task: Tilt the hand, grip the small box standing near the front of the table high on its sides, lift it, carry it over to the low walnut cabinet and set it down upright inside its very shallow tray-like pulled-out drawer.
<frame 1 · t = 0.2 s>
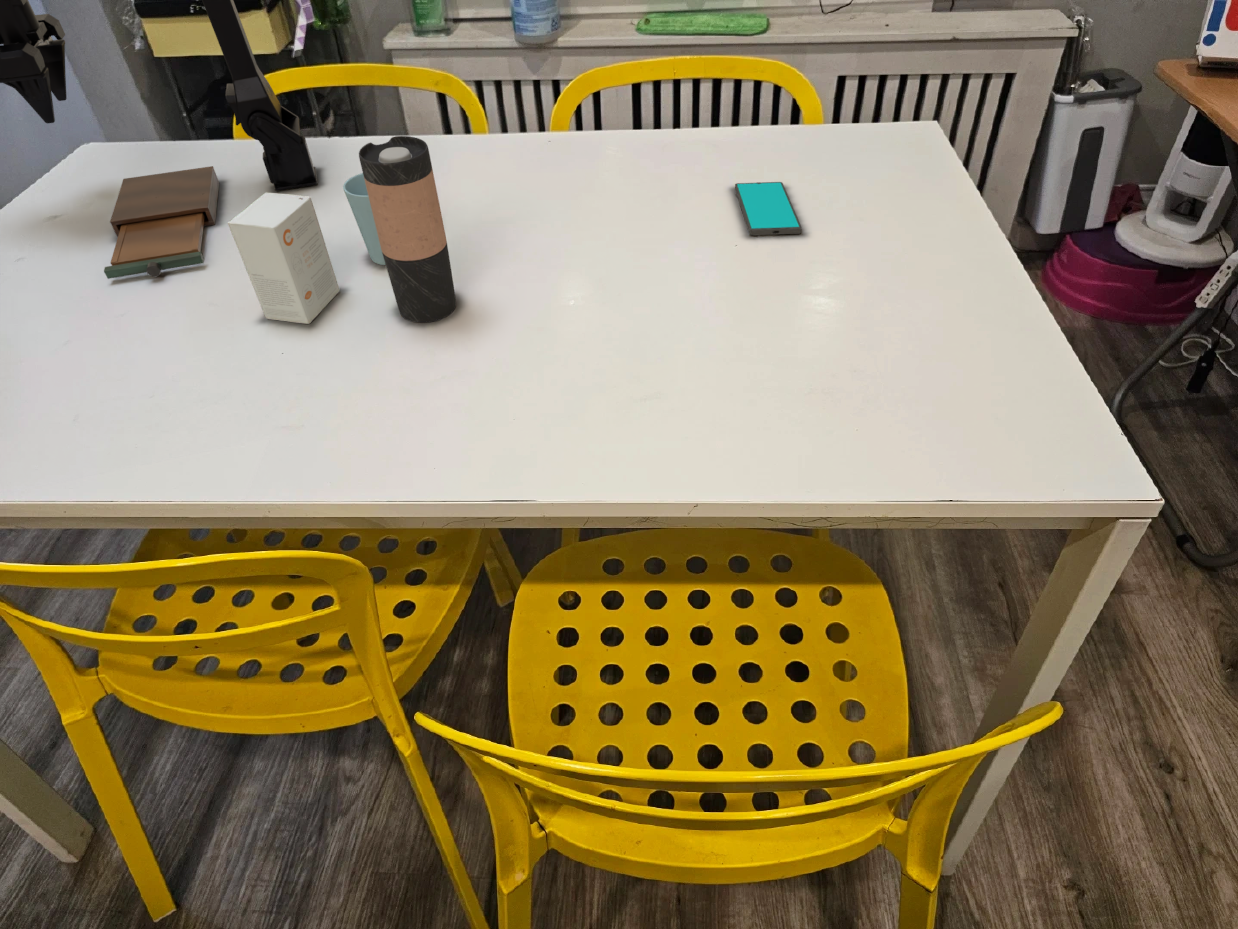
hand: (56, 111, 112), 15 cm above the table, tool pointing down, fingers open, 9 cm apart
travel mug: (428, 308, 100), on the table
cup: (391, 256, 110), on the table
drawer: (159, 244, 110), point 1 cm above the table, slide at 12.0 cm
small box: (304, 306, 101), on the table
cabinet: (171, 209, 121), on the table
smartphone: (766, 211, 116), on the table
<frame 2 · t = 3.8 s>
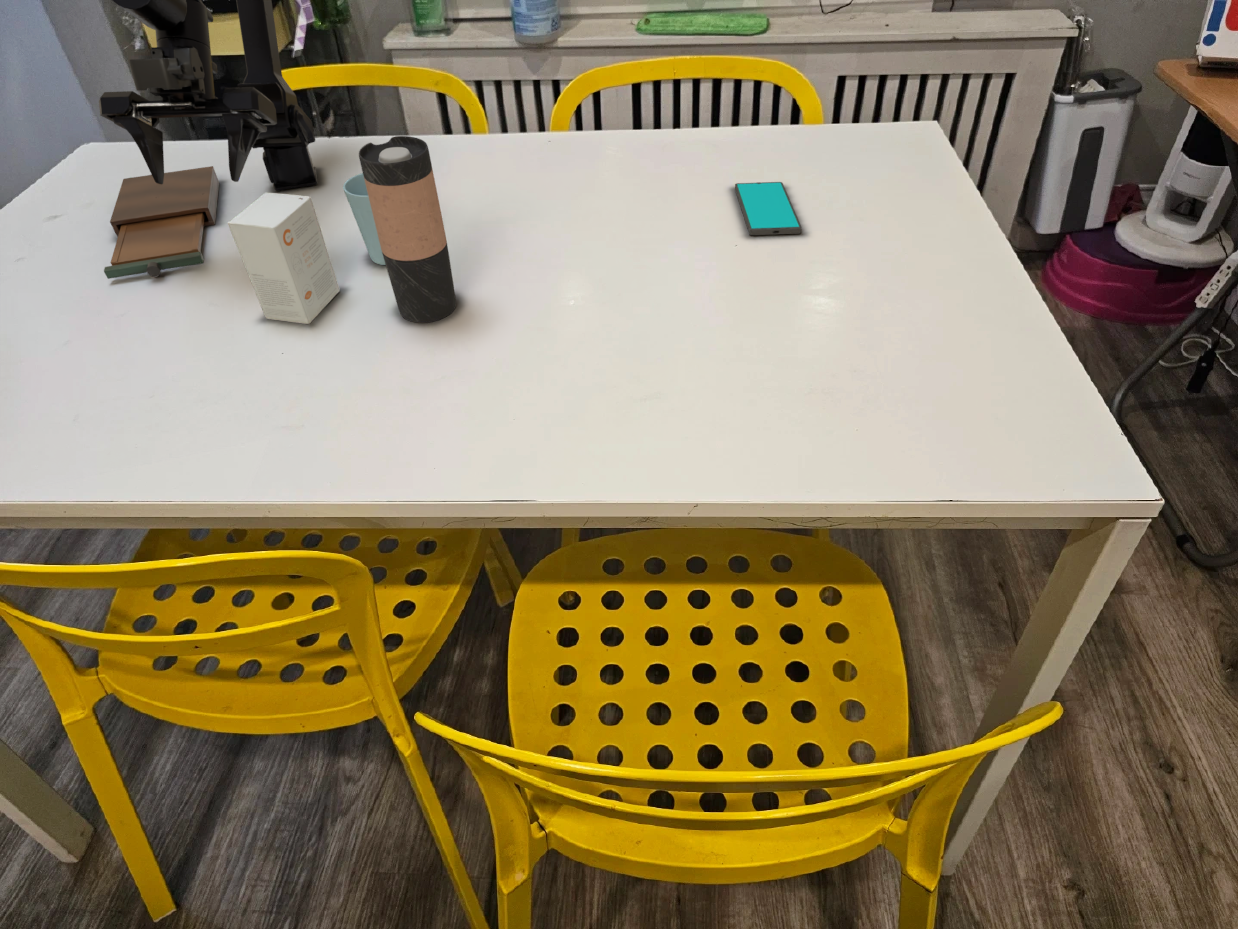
hand: (197, 182, 97), 13 cm above the table, tool tilted 35°, fingers open, 9 cm apart
nothing on the table moved.
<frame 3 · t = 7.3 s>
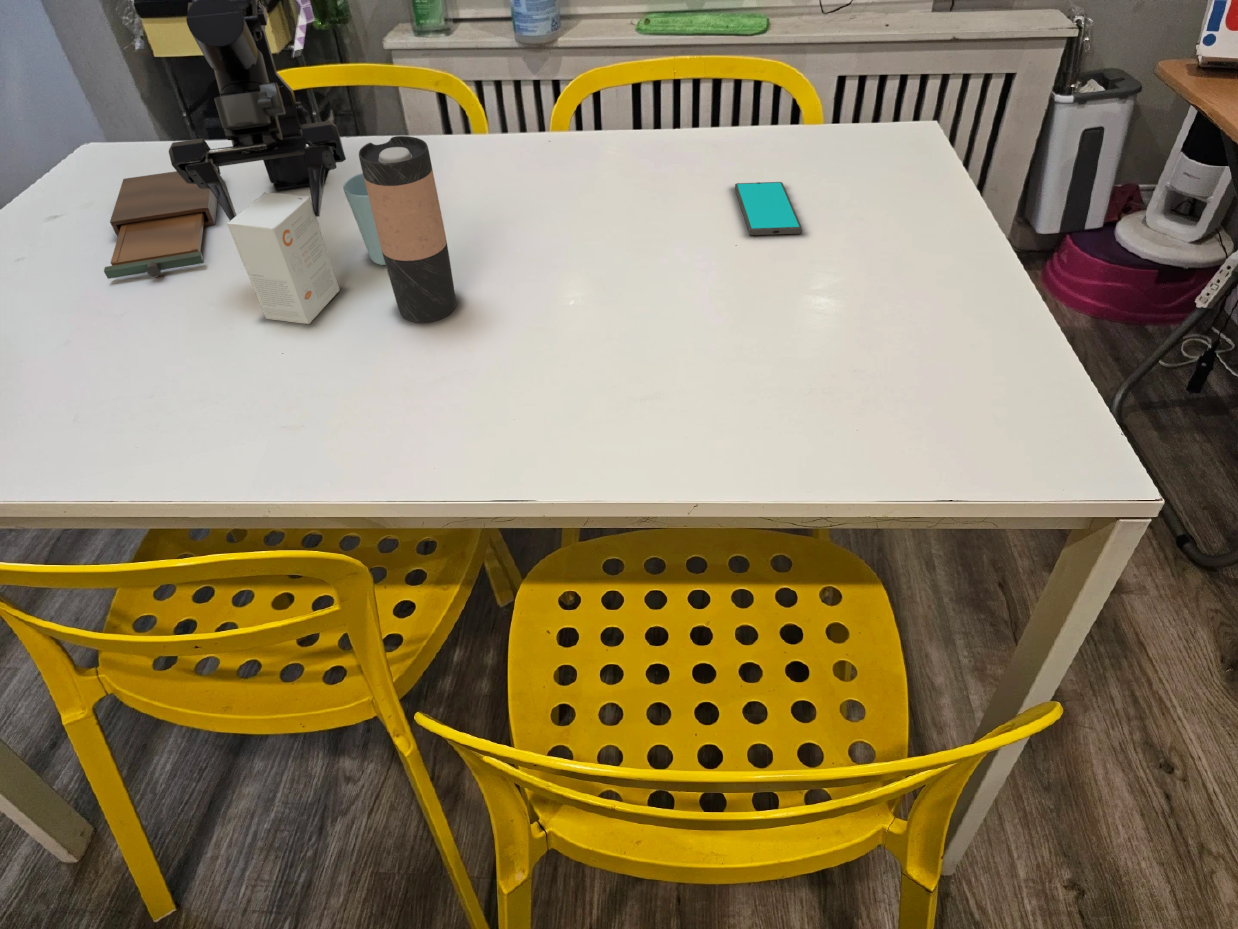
hand: (277, 221, 94), 11 cm above the table, tool tilted 45°, fingers open, 9 cm apart
small box: (303, 306, 101), on the table, touching gripper
everything else where it was.
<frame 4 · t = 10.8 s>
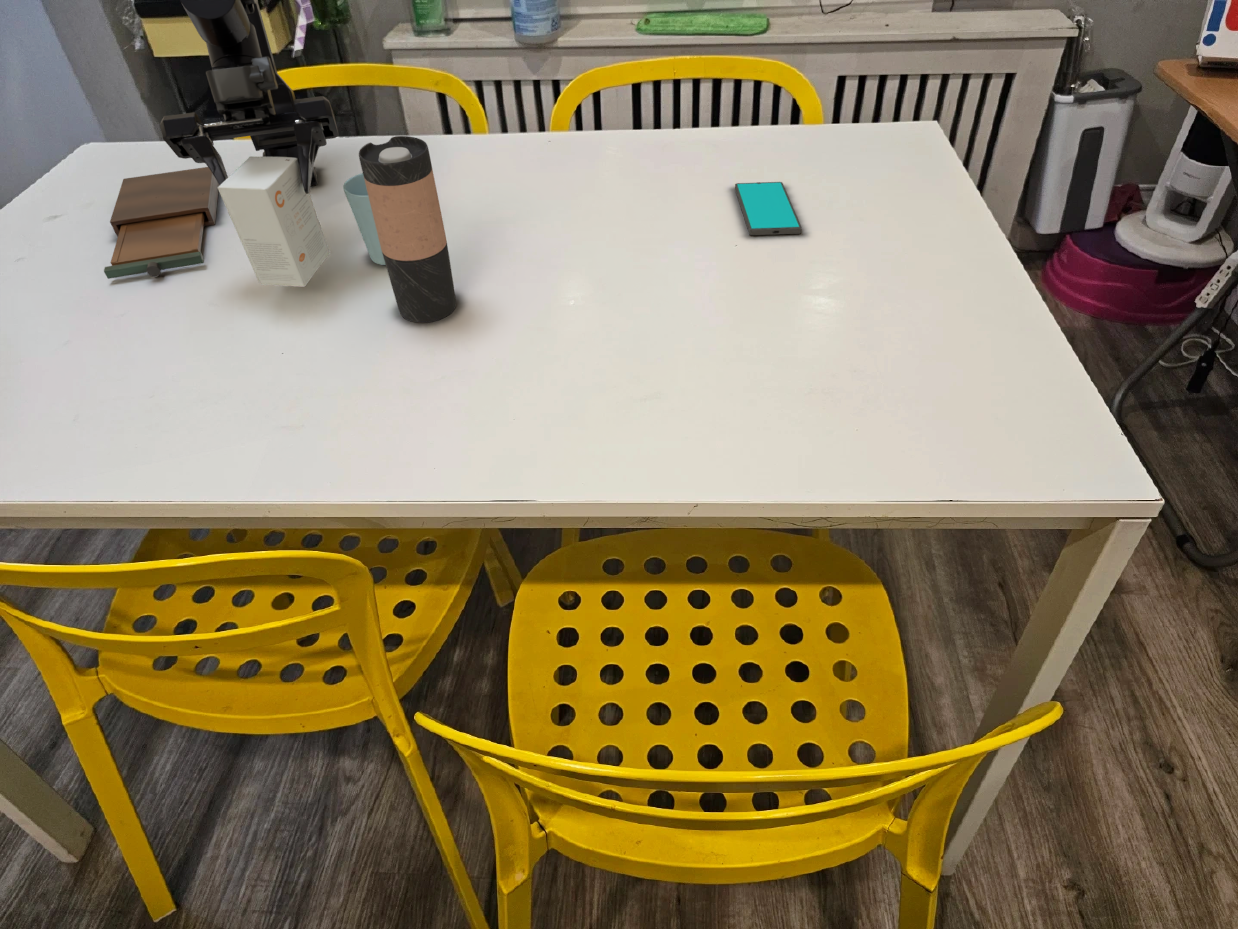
hand: (269, 197, 94), 13 cm above the table, tool tilted 45°, fingers closed on small box, 8 cm apart
small box: (296, 270, 101), point 3 cm above the table, touching gripper
everything else where it was.
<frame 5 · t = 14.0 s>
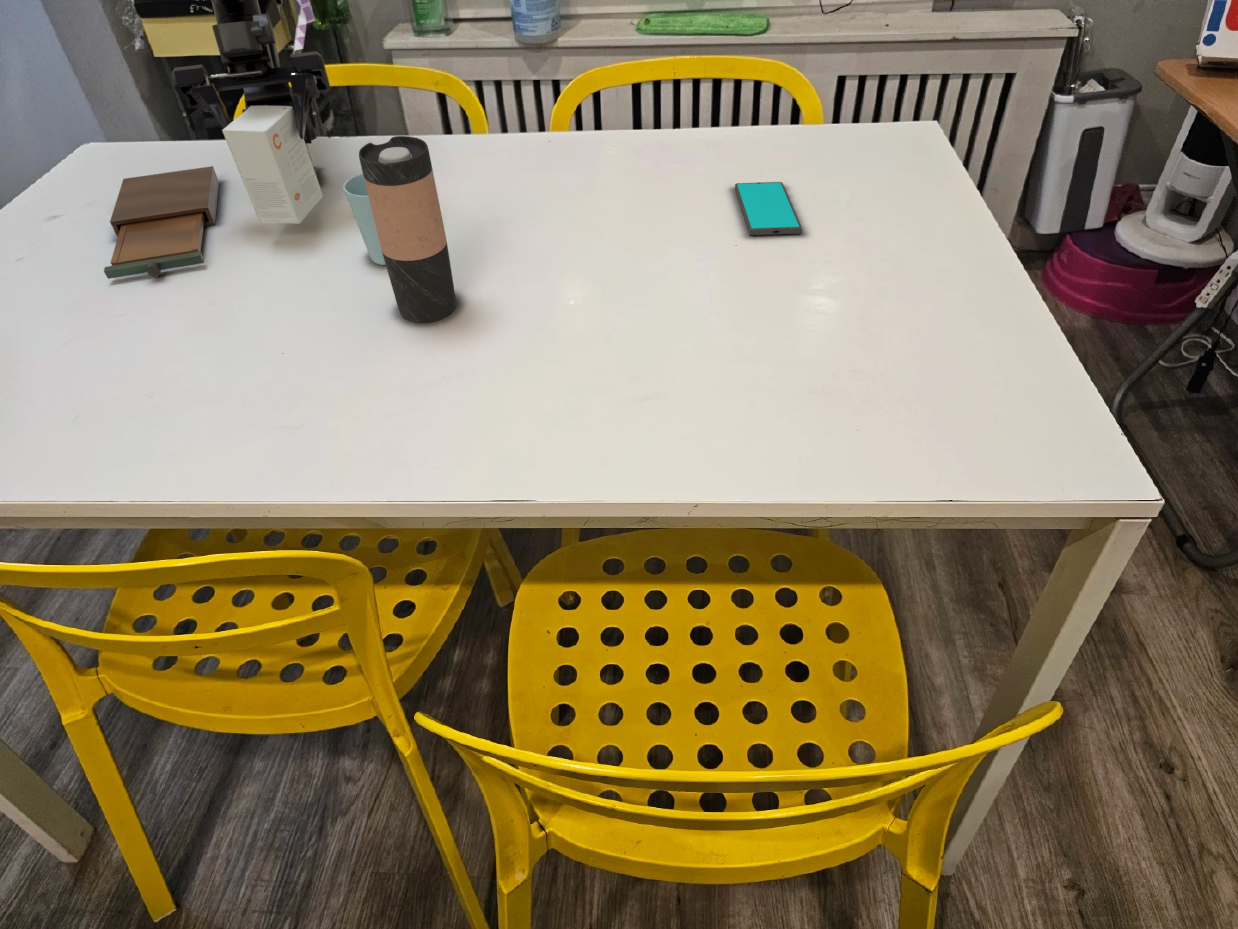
hand: (268, 142, 105), 13 cm above the table, tool tilted 45°, fingers closed on small box, 8 cm apart
small box: (292, 210, 113), point 3 cm above the table, touching gripper
everything else where it was.
when the fingers open (12 cm above the table, at t = 20.0 s): small box stays where it is, resting on drawer.
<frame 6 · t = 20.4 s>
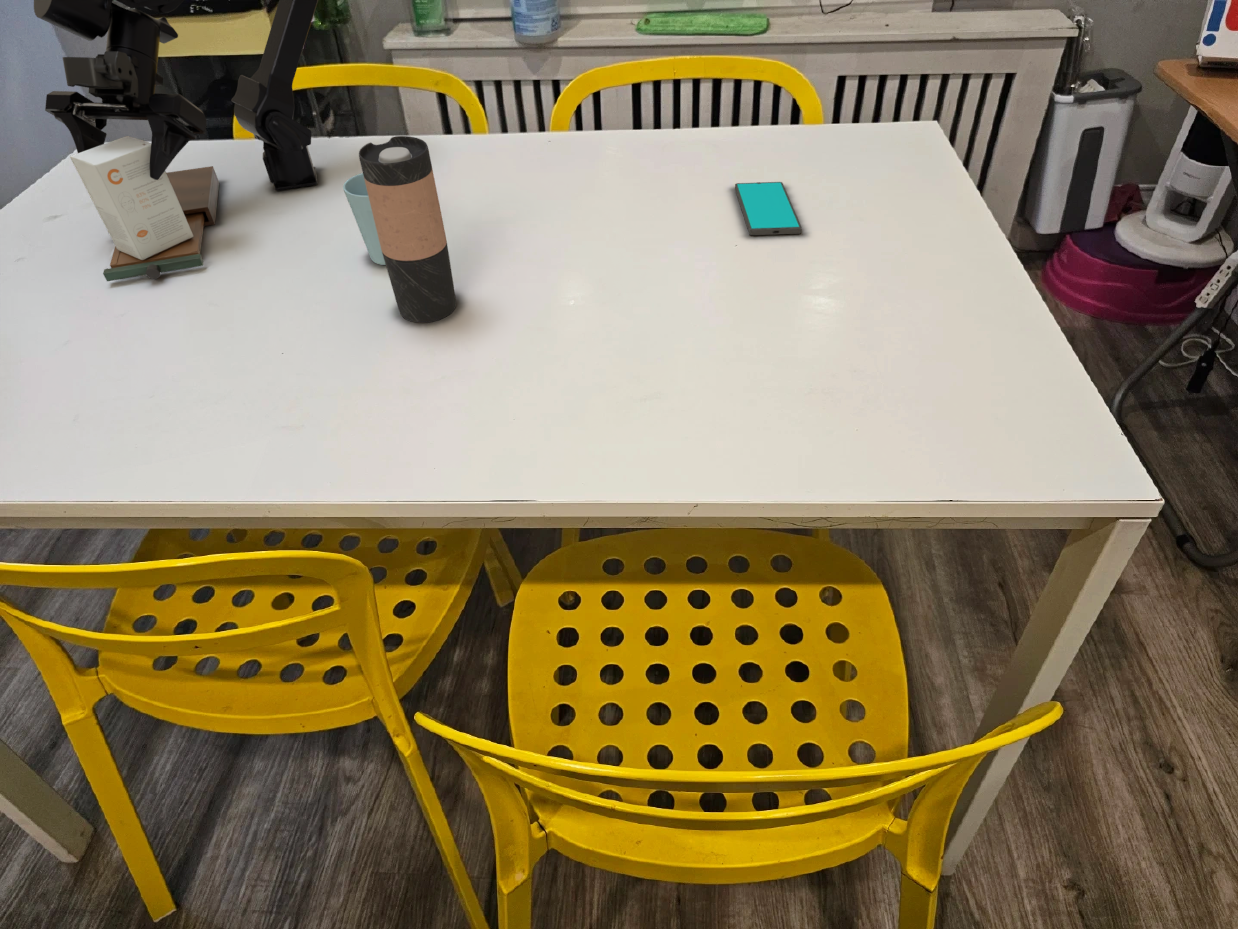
hand: (121, 177, 103), 11 cm above the table, tool tilted 45°, fingers open, 9 cm apart
drawer: (158, 246, 110), point 1 cm above the table, slide at 12.7 cm, touching small box
small box: (156, 245, 110), point 2 cm above the table, touching drawer, gripper
everything else where it was.
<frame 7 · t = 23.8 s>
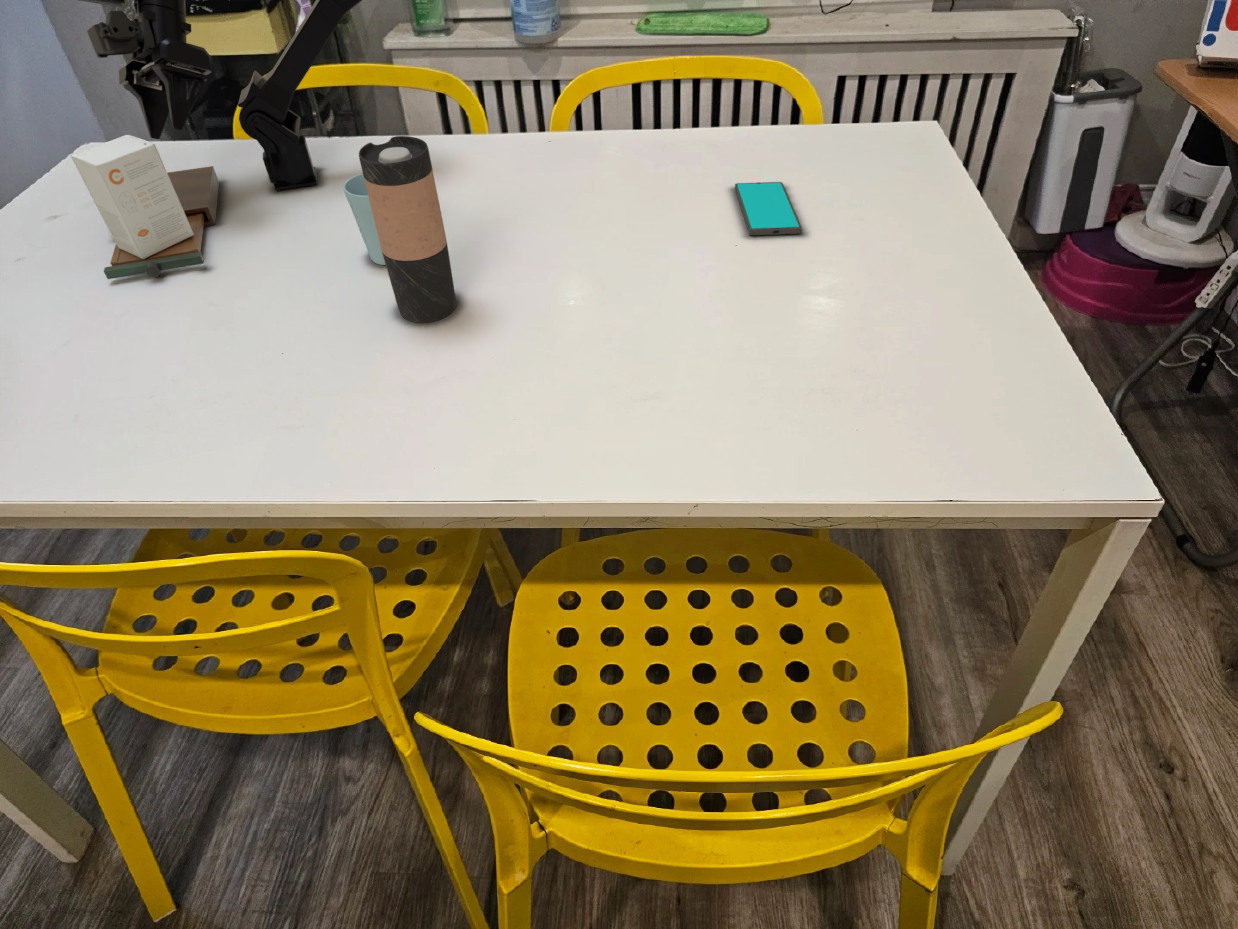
hand: (165, 134, 110), 13 cm above the table, tool tilted 35°, fingers open, 9 cm apart
drawer: (158, 244, 110), point 1 cm above the table, slide at 12.1 cm, touching small box
small box: (157, 243, 110), point 2 cm above the table, touching drawer
everything else where it was.
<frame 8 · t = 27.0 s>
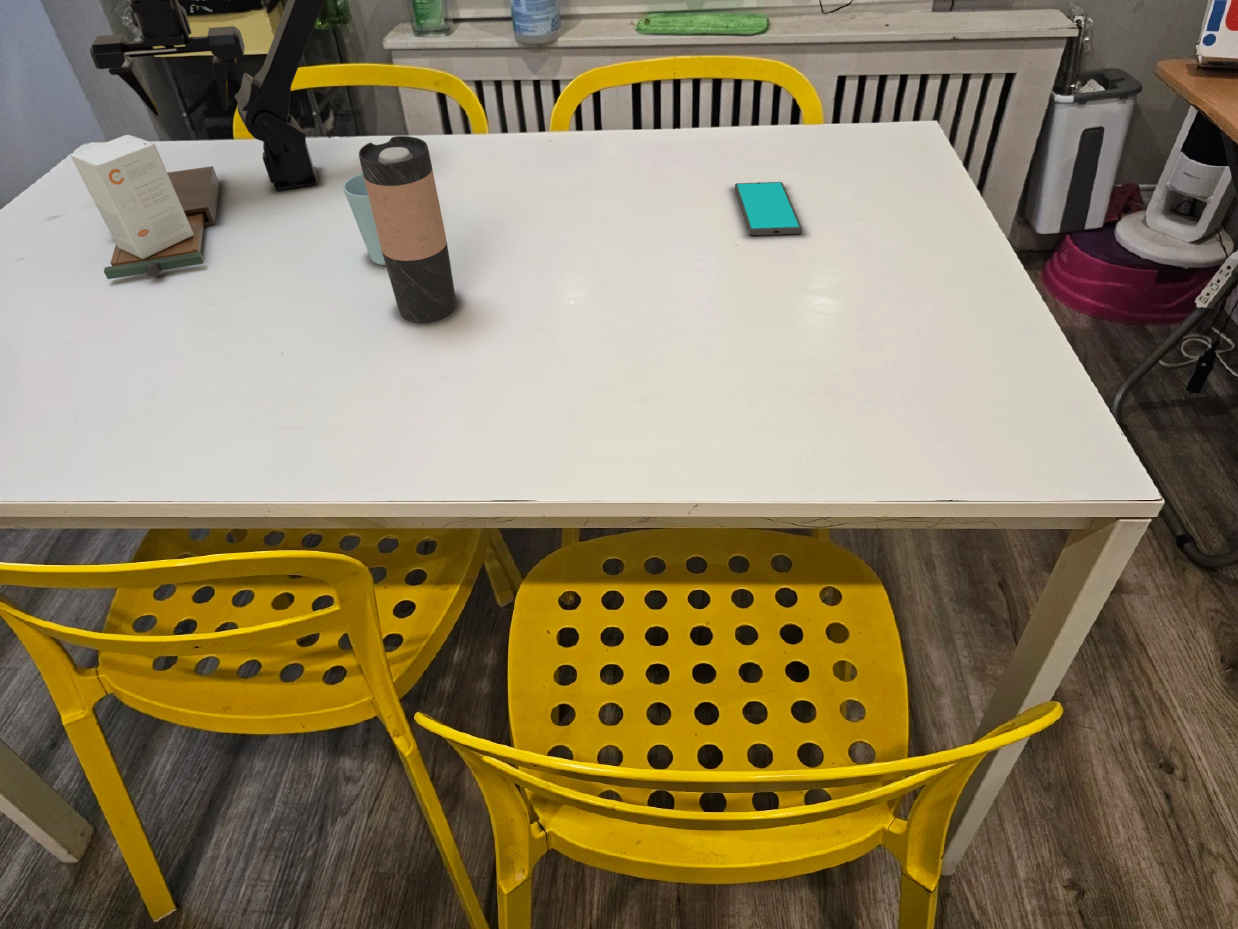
hand: (192, 111, 115), 13 cm above the table, tool pointing down, fingers open, 9 cm apart
nothing on the table moved.
at the end: small box inside the target area in the drawer (0.5 cm from its centre), point 1.7 cm above the cabinet's base; small box tilted 0°; the gripper is holding nothing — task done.
